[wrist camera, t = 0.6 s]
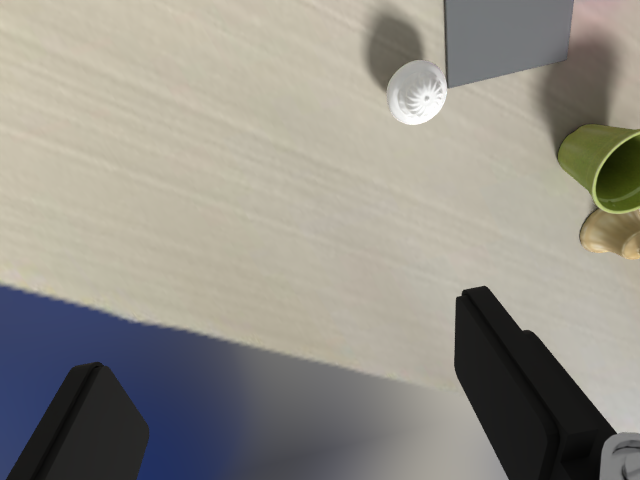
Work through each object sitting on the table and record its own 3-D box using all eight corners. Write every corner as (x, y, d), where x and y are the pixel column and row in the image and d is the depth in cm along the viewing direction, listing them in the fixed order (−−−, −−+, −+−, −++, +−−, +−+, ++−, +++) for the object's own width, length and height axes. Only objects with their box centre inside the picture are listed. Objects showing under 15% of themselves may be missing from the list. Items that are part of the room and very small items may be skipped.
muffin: (370, 108, 42) (386, 123, 36) (390, 48, 39) (411, 54, 33) (420, 123, 43) (443, 140, 37) (443, 66, 40) (473, 75, 34)
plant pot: (533, 184, 49) (579, 214, 41) (558, 108, 44) (616, 127, 37) (599, 183, 50) (656, 213, 42) (632, 109, 45) (702, 128, 38)
